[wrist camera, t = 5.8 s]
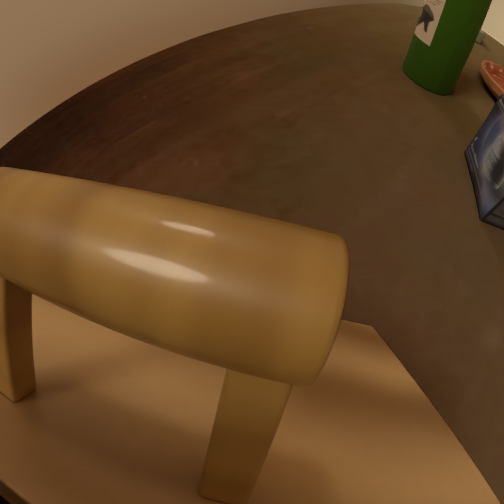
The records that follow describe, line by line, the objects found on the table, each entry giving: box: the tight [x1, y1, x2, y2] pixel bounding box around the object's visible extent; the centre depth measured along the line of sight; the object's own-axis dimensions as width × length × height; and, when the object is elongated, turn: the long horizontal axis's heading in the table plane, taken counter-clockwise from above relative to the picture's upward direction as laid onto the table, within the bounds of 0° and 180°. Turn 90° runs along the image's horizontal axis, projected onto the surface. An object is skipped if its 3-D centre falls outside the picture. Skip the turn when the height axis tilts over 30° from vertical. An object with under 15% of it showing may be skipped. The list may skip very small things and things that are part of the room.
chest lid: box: [0, 167, 500, 504], centre depth 8 cm, size 13×15×5 cm
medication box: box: [476, 29, 485, 44], centre depth 55 cm, size 12×3×4 cm, turn 154°
